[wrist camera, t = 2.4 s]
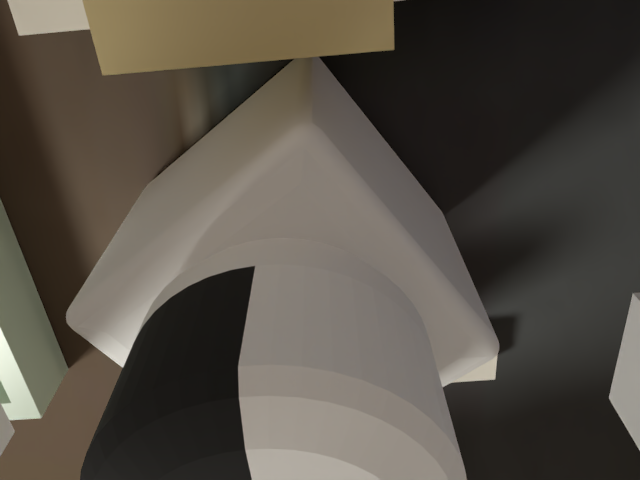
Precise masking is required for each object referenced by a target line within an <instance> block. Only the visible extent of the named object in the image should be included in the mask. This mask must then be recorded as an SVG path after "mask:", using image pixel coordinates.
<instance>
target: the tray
mask: <svg viewBox="0 0 640 480" xmlns="http://www.w3.org/2000/svg"><path fill="white" fill-rule="evenodd" d="M67 371H68V367H67V364H66V362H65V359H64V357H63V354H62V352H61V349H60V347H59V344H58V342H57V339H56V337H55V334H54V332H53V329H52V327H51V324H50V322H49V319H48V317H47V314H46V312H45V309H44V307H43V304H42V302H41V299H40V297H39V294H38V292H37V289H36V286H35V284H34V281H33V279H32V276H31V274H30V271H29V269H28V266H27V264H26V261H25V259H24V256H23V254H22V251H21V249H20V246H19V244H18V241H17V239H16V236H15V234H14V231H13V229H12V226H11V224H10V221H9V219H8V216H7V214H6V211H5V209H4V206H3V204H2V201H1V199H0V403H1V405H2V407H3V409H4V411H5V413H6V415H7V417H8V419H9V420H20V419H35V418H42V416H43V415H44V413H45V411H46V409H47V407H48V405H49V404H50V402H51V400H52V398H53V396H54V394H55V393H56V391H57V389H58V387H59V385H60V384H61V382H62V380H63V378H64V376H65V374H66V373H67Z"/></svg>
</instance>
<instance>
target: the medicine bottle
mask: <svg viewBox="0 0 640 480" xmlns="http://www.w3.org/2000/svg"><path fill="white" fill-rule="evenodd" d="M66 321H67V324H68V325H69V326H70V327H71V329H73V330H74V331H75V332H77V333H78V334H79V335H81V336H82V337H83V338H85V339H86V340H87V341H88V342H90V343H91V344H92V345H94V346H95V347H96V348H98V349H99V350H100V351H102V352H103V353H104V354H105V355H107V356H108V357H109V358H111V359H112V360H113V361H115V362H116V363H117V364H119V365H120V366H121V367H123V369H122V371H121V374H120V376H119V378H118V381H117V383H116V385H115V388H114V390H113V392H112V395H111V397H110V399H109V402H108V404H107V406H106V409H105V411H104V413H103V416H102V418H101V420H100V423H99V425H98V427H97V430H96V432H95V434H94V437H93V439H92V441H91V444H90V446H89V449H88V451H87V453H86V456H85V460H84V463H83V466H82V469H81V476H80V480H467V478H466V472H465V468H464V464H463V461H462V457H461V453H460V450H459V446H458V442H457V439H456V435H455V431H454V428H453V424H452V420H451V417H450V413H449V409H448V406H447V402H446V399H445V395H444V391H443V388H442V387H444V386H446V385H448V384H449V383H451V382H453V381H455V380H456V379H458V378H460V377H462V376H464V375H465V374H467V373H469V372H471V371H472V370H474V369H476V368H478V367H480V366H481V365H483V364H485V363H487V362H488V361H490V360H492V359H493V358H494V357H495V356H497V355H498V352H499V341H498V339H497V336H496V334H495V332H494V329H493V327H492V325H491V323H490V320H489V318H488V316H487V313H486V311H485V309H484V307H483V304H482V302H481V300H480V297H479V295H478V293H477V291H476V288H475V286H474V284H473V281H472V279H471V277H470V275H469V272H468V270H467V268H466V265H465V263H464V261H463V259H462V256H461V254H460V252H459V249H458V247H457V245H456V243H455V240H454V238H453V236H452V233H451V231H450V229H449V226H448V224H447V222H446V220H445V217H444V215H443V213H442V211H441V210H440V209H439V207H438V206H437V205H436V204H435V202H434V201H433V200H432V199H431V197H430V196H429V195H428V194H427V192H426V191H425V190H424V189H423V187H422V186H421V185H420V184H419V182H418V181H417V180H416V178H415V177H414V176H413V175H412V173H411V172H410V171H409V170H408V168H407V167H406V166H405V165H404V163H403V162H402V161H401V160H400V158H399V157H398V156H397V155H396V153H395V152H394V151H393V150H392V148H391V147H390V146H389V145H388V143H387V142H386V141H385V139H384V138H383V137H382V136H381V134H380V133H379V132H378V131H377V129H376V128H375V127H374V126H373V124H372V123H371V122H370V121H369V119H368V118H367V117H366V116H365V114H364V113H363V112H362V111H361V109H360V108H359V107H358V106H357V104H356V103H355V102H354V100H353V99H352V98H351V97H350V95H349V94H348V93H347V92H346V90H345V89H344V88H343V87H342V85H341V84H340V83H339V82H338V80H337V79H336V78H335V77H334V75H333V74H332V73H331V72H330V70H329V69H328V68H327V67H326V65H325V64H324V63H323V61H322V60H321V59H320V58H319V57H308V58H296V59H294V60H293V61H291V62H290V63H289V64H288V65H287V66H286V67H284V68H283V69H282V70H281V71H280V72H279V73H277V74H276V75H275V76H274V77H273V78H271V79H270V80H269V81H268V82H267V83H266V84H264V85H263V86H262V87H261V88H260V89H259V90H257V91H256V92H255V93H254V94H253V95H252V96H250V97H249V98H248V99H247V100H246V101H245V102H243V103H242V104H241V105H240V106H239V107H238V108H236V109H235V110H234V111H233V112H232V113H231V114H229V115H228V116H227V117H226V118H225V119H224V120H222V121H221V122H220V123H219V124H218V125H217V126H215V127H214V128H213V129H212V130H211V131H210V132H208V133H207V134H206V135H205V136H204V137H203V138H201V139H200V140H199V141H198V142H197V143H196V144H194V145H193V146H192V147H191V148H190V149H189V150H187V151H186V152H185V153H184V154H183V155H182V156H180V157H179V158H178V159H177V160H176V161H175V162H173V163H172V164H171V165H170V166H169V167H168V168H166V169H165V170H164V171H163V172H162V173H161V174H159V175H158V176H157V177H156V178H155V179H154V180H152V181H151V182H150V183H149V184H148V185H147V186H146V187H145V188H144V190H143V191H142V193H141V195H140V196H139V198H138V199H137V201H136V202H135V204H134V206H133V207H132V209H131V210H130V212H129V213H128V215H127V217H126V218H125V220H124V221H123V223H122V225H121V226H120V228H119V229H118V231H117V232H116V234H115V236H114V237H113V239H112V240H111V242H110V243H109V245H108V247H107V248H106V250H105V251H104V253H103V255H102V256H101V258H100V259H99V261H98V262H97V264H96V266H95V267H94V269H93V270H92V272H91V273H90V275H89V277H88V278H87V280H86V281H85V283H84V284H83V286H82V288H81V289H80V291H79V292H78V294H77V296H76V297H75V299H74V300H73V302H72V303H71V305H70V307H69V308H68V310H67V313H66Z"/></svg>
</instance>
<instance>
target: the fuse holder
mask: <svg viewBox="0 0 640 480" xmlns="http://www.w3.org/2000/svg"><path fill="white" fill-rule="evenodd" d="M7 1H8V4H9V7H10V10H11V13H12V16H13V19H14V22H15V25H16V28H17V31H18V34H19V36H20V35H31V34H42V33H53V32H64V31H75V30H86V29H90V31H91V35H92V38H93V42H94V46H95V49H96V53H97V57H98V61H99V64H100V68H101V72H102V75H103V76H104V75H115V74H126V73H138V72H149V71H160V70H172V69H183V68H194V67H206V66H217V65H228V64H240V63H251V62H262V61H274V60H285V59H296V58H308V57H319V56H330V55H342V54H353V53H364V52H376V51H387V50H394V4H393V1H404V0H7ZM496 365H497V356H495V357H494V358H493V359H492V360H490V361H488V362H487V363H485V364H483V365H481V366H480V367H478V368H476V369H474V370H472V371H471V372H469V373H467V374H465V375H464V376H462V377H460V378H458V379H456V380H455V381H453V382H466V381H481V380H495V376H496Z"/></svg>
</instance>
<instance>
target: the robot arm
mask: <svg viewBox="0 0 640 480" xmlns="http://www.w3.org/2000/svg"><path fill="white" fill-rule="evenodd" d="M609 400H610V401H611V403H612V405H613V406H614V408H615V410H616V411H617V413H618V415H619V416H620V418H621V420H622V422H623V423H624V425H625V427H626V428H627V430H628V432H629V433H630V435H631V437H632V438H633V440H634V442H635V443H636V445H637V447H638V449H639V450H640V293H633V295H632V299H631V304H630V308H629V312H628V317H627V321H626V325H625V330H624V334H623V338H622V343H621V347H620V351H619V356H618V360H617V364H616V368H615V373H614V377H613V381H612V386H611V390H610V394H609ZM14 432H15V431H14V429H13V427H12V425H11V423H10V421H9V419H8V417H7V415H6V413H5V411H4V409H3V407H2V405H1V403H0V456H1V454H2V453H3V451H4V449H5V448H6V446H7V444H8V442H9V441H10V439H11V437H12V436H13V434H14Z"/></svg>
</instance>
